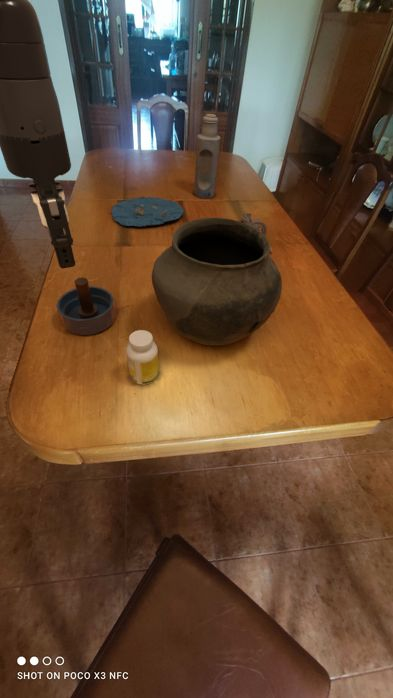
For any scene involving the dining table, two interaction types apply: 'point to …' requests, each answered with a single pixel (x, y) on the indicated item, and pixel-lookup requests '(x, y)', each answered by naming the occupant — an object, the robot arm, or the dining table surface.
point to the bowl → (89, 326)
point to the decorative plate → (146, 211)
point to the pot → (217, 281)
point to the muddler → (85, 299)
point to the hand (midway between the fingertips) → (62, 252)
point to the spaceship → (255, 225)
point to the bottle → (207, 158)
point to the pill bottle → (142, 357)
